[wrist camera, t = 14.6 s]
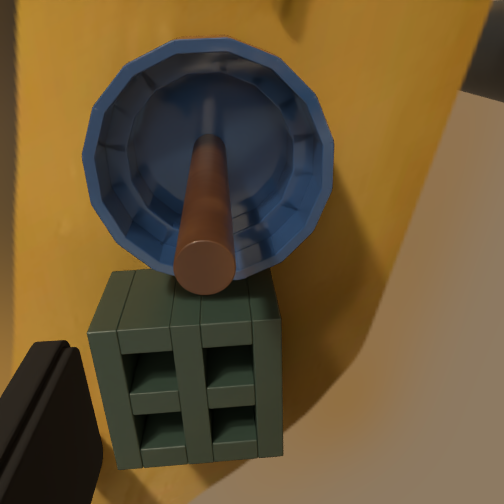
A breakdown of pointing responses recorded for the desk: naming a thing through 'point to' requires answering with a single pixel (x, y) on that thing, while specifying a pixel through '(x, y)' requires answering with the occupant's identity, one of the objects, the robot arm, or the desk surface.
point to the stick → (206, 222)
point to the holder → (189, 370)
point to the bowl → (216, 123)
